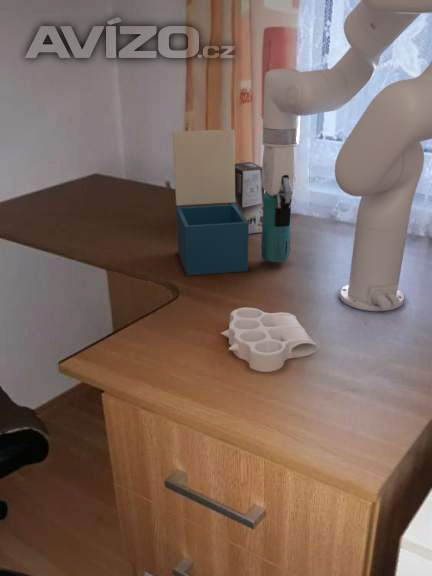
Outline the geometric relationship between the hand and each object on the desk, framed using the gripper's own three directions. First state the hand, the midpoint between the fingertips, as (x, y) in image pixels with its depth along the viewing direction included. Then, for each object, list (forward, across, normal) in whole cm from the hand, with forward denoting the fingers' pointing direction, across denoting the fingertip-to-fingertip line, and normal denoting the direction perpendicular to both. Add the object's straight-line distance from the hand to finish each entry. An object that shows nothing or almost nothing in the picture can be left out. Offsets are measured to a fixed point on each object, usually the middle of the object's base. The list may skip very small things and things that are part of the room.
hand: (276, 219), depth 134 cm
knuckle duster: (+10, +38, -12) cm, 41 cm away
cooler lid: (-9, -12, -14) cm, 20 cm away
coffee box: (+10, -26, -1) cm, 28 cm away
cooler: (+10, -4, -14) cm, 18 cm away
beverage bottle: (+10, 0, 0) cm, 10 cm away
